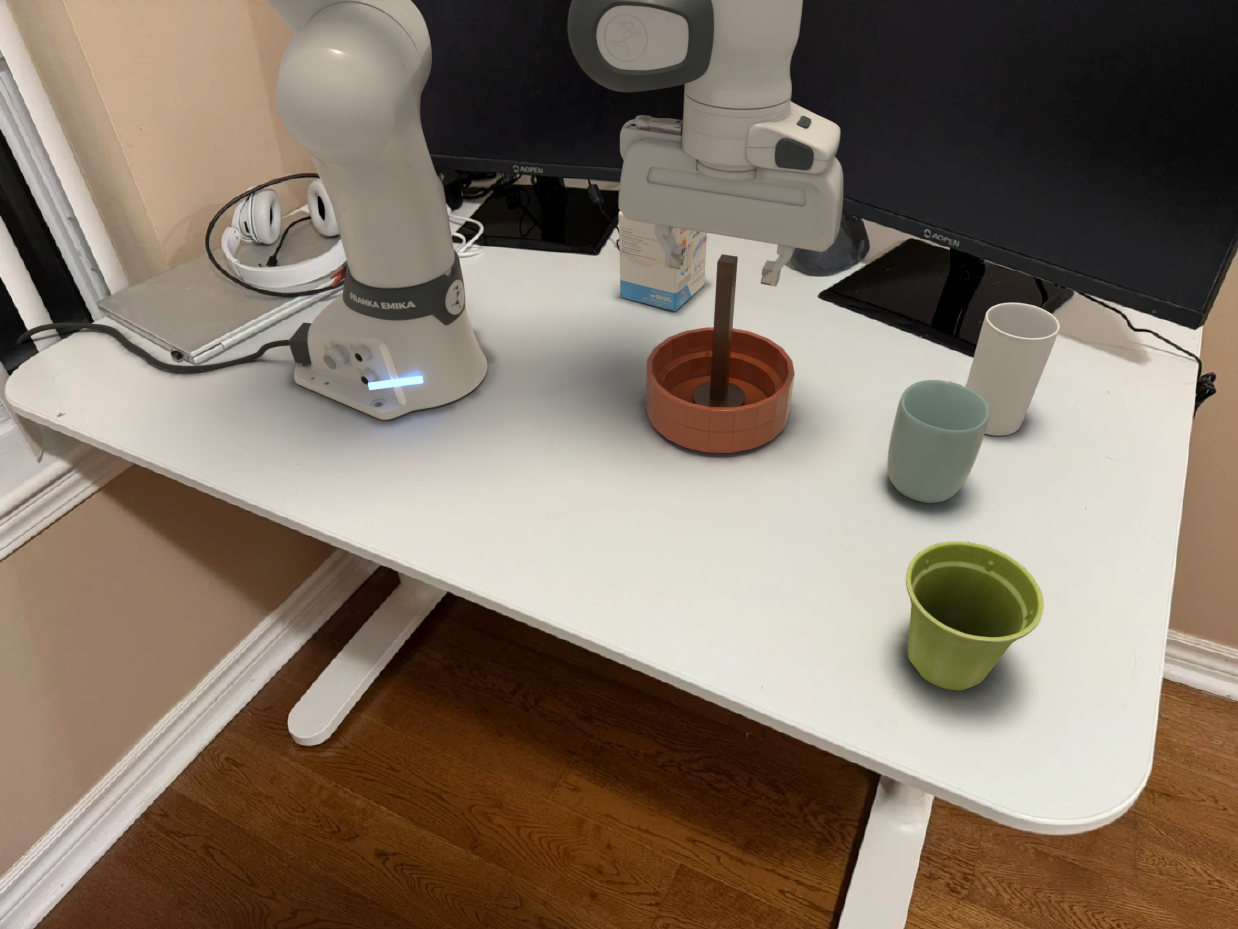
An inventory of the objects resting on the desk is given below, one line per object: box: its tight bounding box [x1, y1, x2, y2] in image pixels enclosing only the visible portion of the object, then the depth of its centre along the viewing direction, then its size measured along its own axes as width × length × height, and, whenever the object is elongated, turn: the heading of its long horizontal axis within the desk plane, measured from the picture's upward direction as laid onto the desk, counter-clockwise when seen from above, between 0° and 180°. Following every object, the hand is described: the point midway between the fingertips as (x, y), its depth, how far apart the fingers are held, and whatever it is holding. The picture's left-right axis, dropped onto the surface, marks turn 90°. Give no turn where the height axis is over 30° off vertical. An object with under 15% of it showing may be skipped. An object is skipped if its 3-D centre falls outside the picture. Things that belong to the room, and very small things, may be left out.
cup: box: [886, 379, 990, 504], centre depth 79 cm, size 8×8×10 cm
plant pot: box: [905, 540, 1045, 691], centre depth 64 cm, size 9×9×9 cm
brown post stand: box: [692, 253, 745, 407], centre depth 85 cm, size 6×6×18 cm
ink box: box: [618, 210, 708, 312], centre depth 107 cm, size 9×8×13 cm
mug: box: [965, 302, 1061, 437], centre depth 87 cm, size 10×7×12 cm, turn 145°
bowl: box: [645, 326, 796, 454], centre depth 90 cm, size 15×15×6 cm
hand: (721, 274), depth 81 cm, fingers open, 8 cm apart
